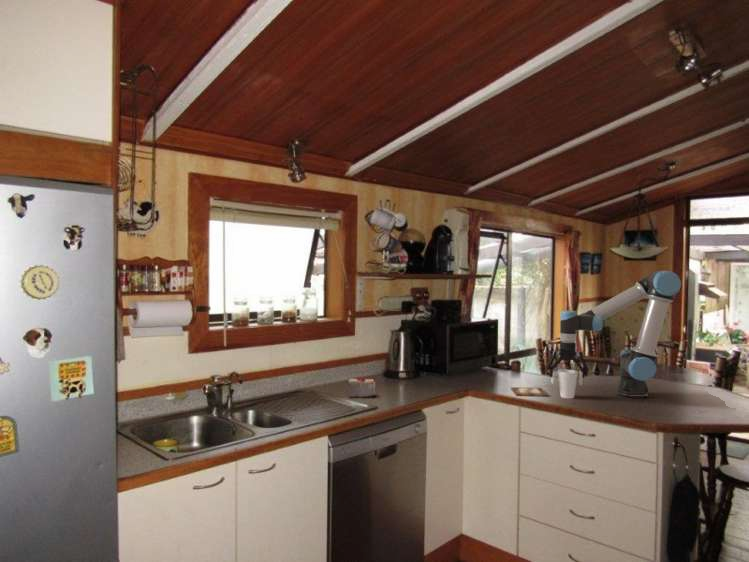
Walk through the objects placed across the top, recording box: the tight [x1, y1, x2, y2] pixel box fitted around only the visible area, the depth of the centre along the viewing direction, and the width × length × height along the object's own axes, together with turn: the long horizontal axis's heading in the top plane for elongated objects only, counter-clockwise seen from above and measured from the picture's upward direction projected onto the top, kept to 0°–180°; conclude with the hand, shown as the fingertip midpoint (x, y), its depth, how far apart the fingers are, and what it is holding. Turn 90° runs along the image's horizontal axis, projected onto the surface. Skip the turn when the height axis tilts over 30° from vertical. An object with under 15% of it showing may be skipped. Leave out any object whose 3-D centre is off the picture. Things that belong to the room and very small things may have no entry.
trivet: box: [510, 386, 550, 398], centre depth 279 cm, size 16×16×1 cm
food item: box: [346, 375, 376, 398], centre depth 270 cm, size 14×8×10 cm, turn 96°
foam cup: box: [557, 369, 579, 399], centre depth 270 cm, size 10×9×13 cm
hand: (566, 384), depth 270 cm, fingers open, 13 cm apart
